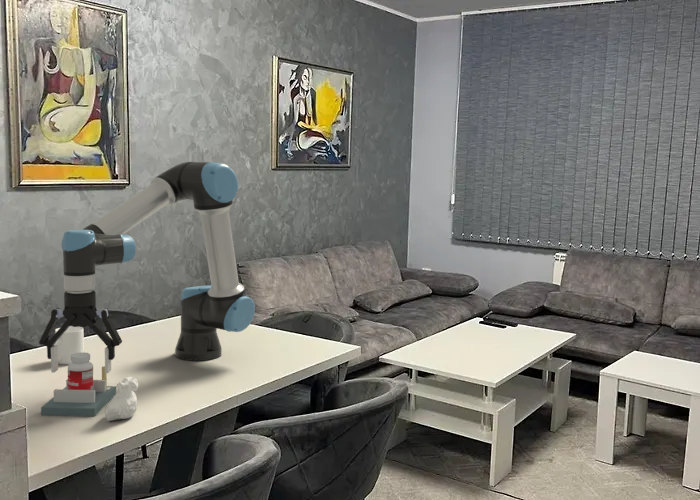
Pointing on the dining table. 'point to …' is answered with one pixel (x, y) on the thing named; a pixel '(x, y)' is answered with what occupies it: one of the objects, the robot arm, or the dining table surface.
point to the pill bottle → (80, 372)
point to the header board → (80, 399)
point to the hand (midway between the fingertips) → (81, 371)
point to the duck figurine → (123, 400)
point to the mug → (70, 344)
